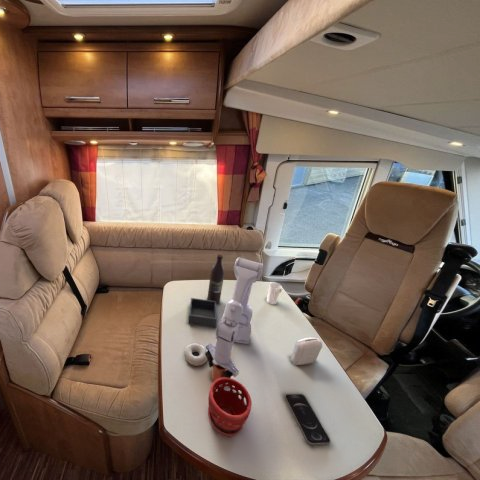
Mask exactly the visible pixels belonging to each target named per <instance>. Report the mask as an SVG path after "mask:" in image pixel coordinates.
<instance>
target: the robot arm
mask: <svg viewBox="0 0 480 480" xmlns="http://www.w3.org/2000/svg"><path fill="white" fill-rule="evenodd" d="M263 270H264V263H261V262H257V261H254V260H251V259H247V258H243V257H240V256H238V257H237V258H236V259H235V262H234V266H233V271H234V277H235V278H236V281H235V284H234V285H235V286H234V290H233V293H232V298H231V300H229V301H228V302H227V303H226V305H225V308H224V312H223V314H222V317H221V320H219V322H218V324H217V325H216V328H215V340H216V341H215V345H213V344H212V343H211V342H208V343H207V344H206V345H205V349H206V351H207V352H206V353H205V355H206V357H207V362H208V367H209V368H210V369H212V367H213V363H214V364H215V365H220V366H222V367H223V368H225V369H227V370H226V371H225V372H224V373H223V374H224V377H227V378H231V379H232V377H233V378H236V377H237V376H238V375H239V374H240V370H239V369H238V368H237V367H236V365H235V363H234V361H233V360H232V358H231V355H232V350H233V346H234V343H241V344H247V345H248V344H249V343H250V337H251V333H252V323H251V322H252V319H253V312H254V310H253V308H251V306H250V305H249V300H250V296H251V291H252V287H253V284H254V283H257V280H259V279H261V277H262V274H263Z"/></svg>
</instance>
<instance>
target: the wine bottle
mask: <svg viewBox="0 0 480 480" xmlns="http://www.w3.org/2000/svg"><path fill="white" fill-rule="evenodd" d="M223 259H224V256H223V254H217V255H216V262H215V264H214V265H213V266H212V268H211V269H210V275H209V283H208V290H207V299H206V300H211V301H216V306H218V305H219V304H220V302H221V296H222V290H223V285H224V279H225V269H224V267H223V264H222V263H223Z"/></svg>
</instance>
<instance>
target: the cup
mask: <svg viewBox="0 0 480 480" xmlns="http://www.w3.org/2000/svg"><path fill="white" fill-rule="evenodd" d="M282 290H283V286H282V284H280V283H278V282H274V281H273V282H272V281H271V282H270V283H269V285H268V291H267V297H266V302H267V303H268V304H270V305H276V304H277V302H278V299H279V296H280V294H281V292H282Z"/></svg>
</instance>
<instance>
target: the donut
mask: <svg viewBox="0 0 480 480" xmlns="http://www.w3.org/2000/svg"><path fill="white" fill-rule="evenodd" d="M207 351H208V350H207V349H206V347H204V346H203V345H202V344H200V343H190V344H188V345H187V346H186V347H185V348H184V351H183V353H184V354H183V356H184V358H185V360H186V361H187V362H188V363H189V364H190V365H193V366H202V365H203V364H205V363H206V362H207V361H208V359H207V357H206V355H205V353H206V352H207ZM193 353H198V354H199V355H197V356H196V355H194V354H193Z"/></svg>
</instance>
